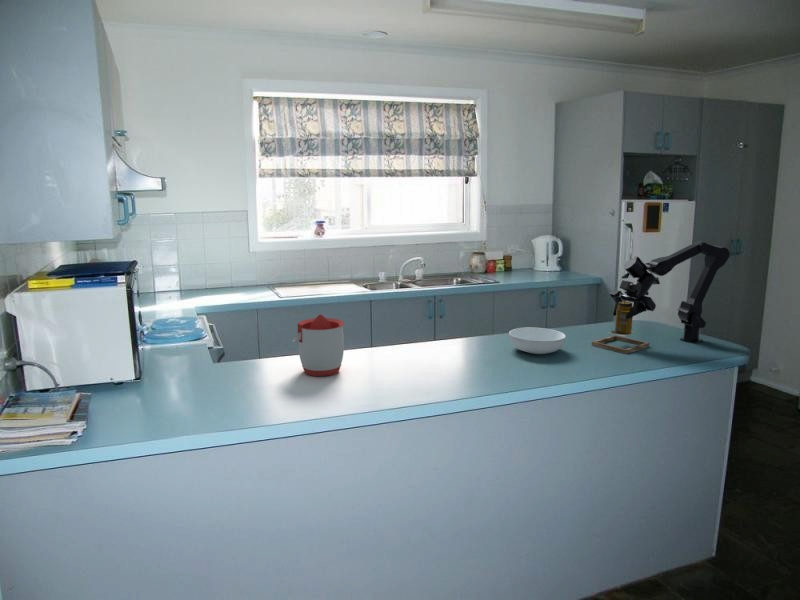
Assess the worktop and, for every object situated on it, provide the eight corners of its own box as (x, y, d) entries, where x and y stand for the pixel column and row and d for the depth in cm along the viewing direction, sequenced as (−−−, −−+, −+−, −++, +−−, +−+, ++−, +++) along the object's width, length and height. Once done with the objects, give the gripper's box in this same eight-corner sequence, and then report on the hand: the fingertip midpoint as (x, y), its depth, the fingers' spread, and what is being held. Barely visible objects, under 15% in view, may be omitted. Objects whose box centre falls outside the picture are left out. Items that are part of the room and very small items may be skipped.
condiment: (635, 332, 238) (637, 302, 235) (625, 336, 232) (627, 305, 230) (618, 329, 243) (620, 299, 240) (607, 333, 237) (609, 303, 235)
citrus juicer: (289, 368, 211) (287, 311, 207) (338, 362, 217) (337, 307, 213) (298, 382, 197) (296, 321, 193) (350, 376, 203) (349, 317, 199)
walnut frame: (614, 338, 249) (615, 335, 249) (649, 346, 238) (649, 342, 237) (591, 345, 239) (591, 341, 239) (626, 353, 228) (626, 350, 228)
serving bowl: (570, 359, 222) (572, 341, 220) (513, 359, 222) (513, 340, 221) (557, 343, 242) (558, 326, 241) (504, 343, 242) (505, 326, 241)
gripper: (614, 269, 243) (592, 299, 240) (653, 276, 227) (630, 308, 224) (626, 287, 248) (605, 316, 245) (665, 294, 232) (643, 326, 229)
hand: (620, 316), depth 236 cm, fingers closed on condiment, 6 cm apart
